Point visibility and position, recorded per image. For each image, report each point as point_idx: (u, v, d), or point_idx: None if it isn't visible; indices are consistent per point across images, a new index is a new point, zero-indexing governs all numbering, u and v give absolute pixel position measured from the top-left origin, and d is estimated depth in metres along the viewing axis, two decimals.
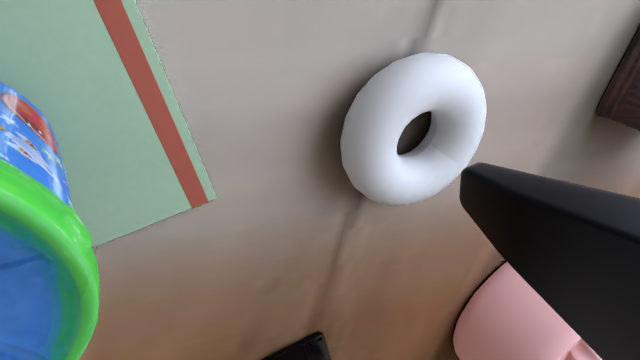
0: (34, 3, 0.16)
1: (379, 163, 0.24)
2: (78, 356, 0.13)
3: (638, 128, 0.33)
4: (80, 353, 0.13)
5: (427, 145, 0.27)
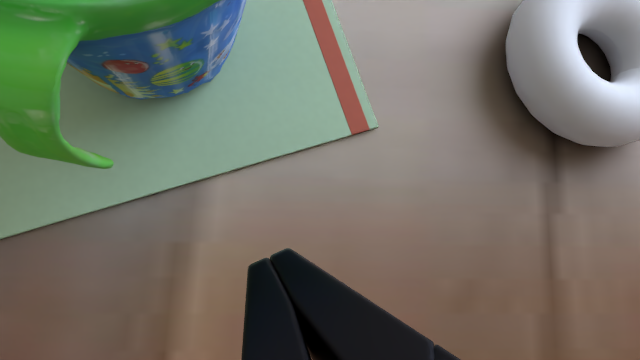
0: None
1: (564, 51, 0.20)
2: None
3: None
4: None
5: (617, 75, 0.22)
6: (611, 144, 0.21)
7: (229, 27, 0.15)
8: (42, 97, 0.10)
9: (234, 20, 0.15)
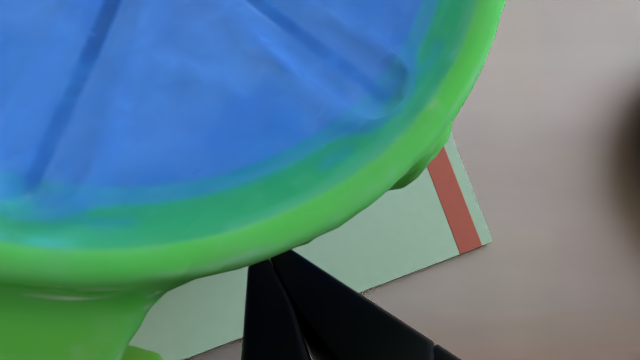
0: None
1: None
2: (471, 78, 0.05)
3: None
4: (475, 69, 0.06)
5: None
6: None
7: None
8: None
9: None
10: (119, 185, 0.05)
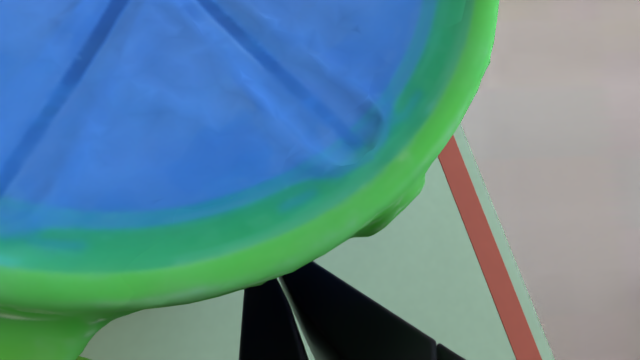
0: None
1: None
2: (446, 133, 0.05)
3: None
4: (452, 124, 0.05)
5: None
6: None
7: None
8: None
9: None
10: (76, 208, 0.05)
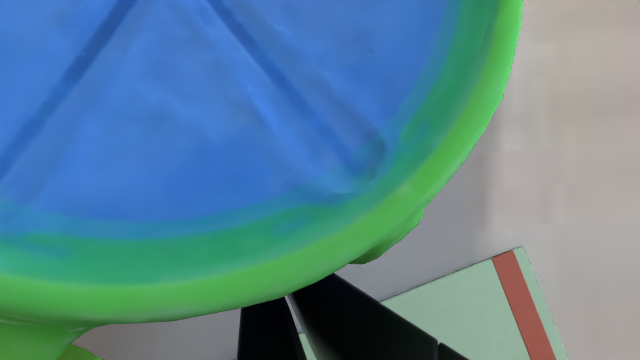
0: (458, 309, 0.15)
1: None
2: (450, 169, 0.05)
3: None
4: (457, 161, 0.05)
5: None
6: None
7: None
8: None
9: None
10: (66, 213, 0.05)
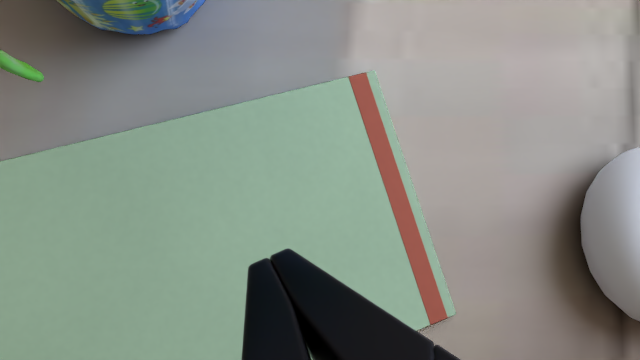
0: (318, 108, 0.21)
1: None
2: None
3: None
4: None
5: None
6: None
7: None
8: None
9: None
10: None
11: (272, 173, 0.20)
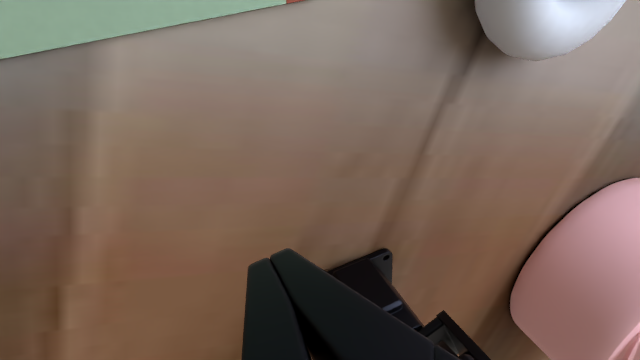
0: None
1: None
2: None
3: None
4: None
5: None
6: (523, 58, 0.22)
7: None
8: None
9: None
10: None
11: None
